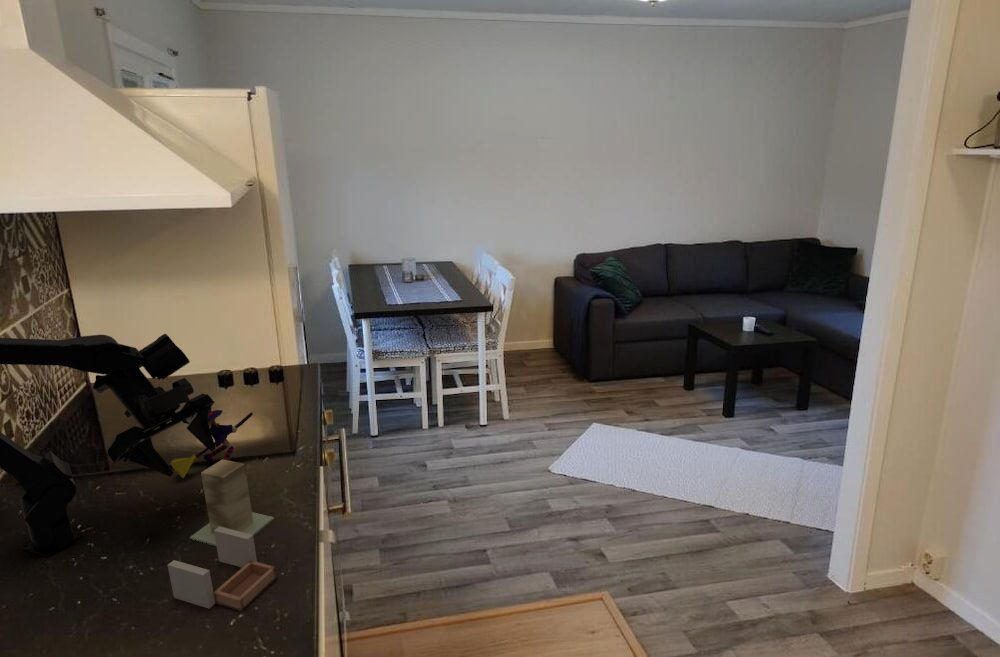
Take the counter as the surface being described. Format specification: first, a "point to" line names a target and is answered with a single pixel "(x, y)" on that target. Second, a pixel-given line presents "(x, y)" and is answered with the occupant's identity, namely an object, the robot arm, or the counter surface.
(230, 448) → the toy
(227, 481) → the beech post
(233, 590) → the tray
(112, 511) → the counter surface
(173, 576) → the channel
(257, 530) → the green mat
